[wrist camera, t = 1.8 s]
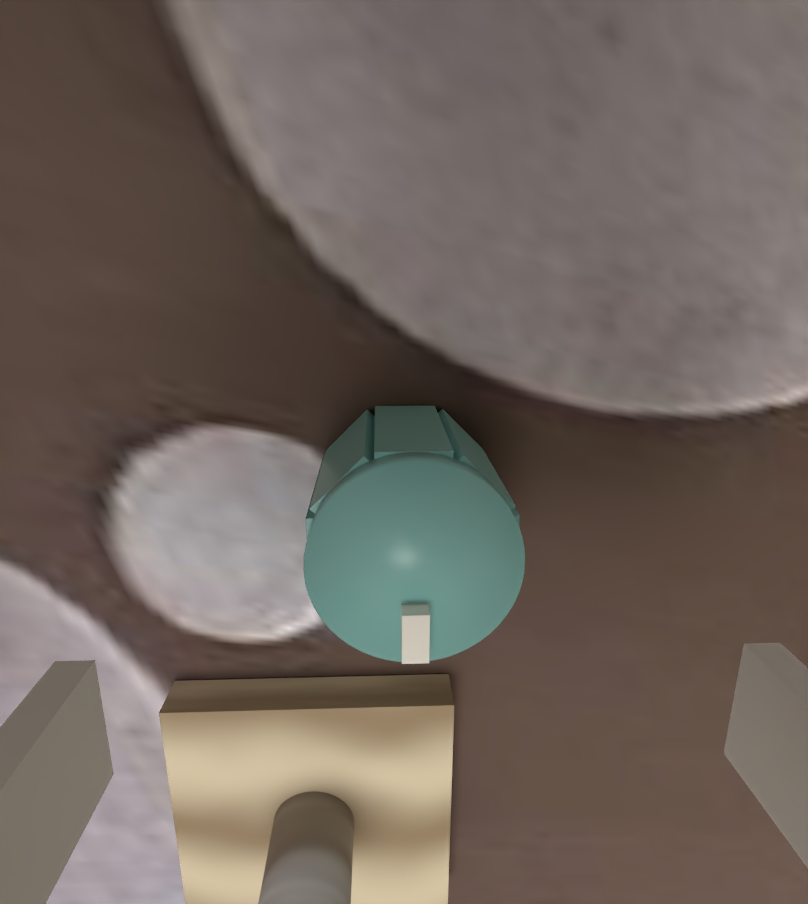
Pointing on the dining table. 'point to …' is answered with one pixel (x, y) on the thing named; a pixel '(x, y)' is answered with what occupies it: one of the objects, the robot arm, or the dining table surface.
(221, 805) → the bolt post
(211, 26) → the dining table surface
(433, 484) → the cap
